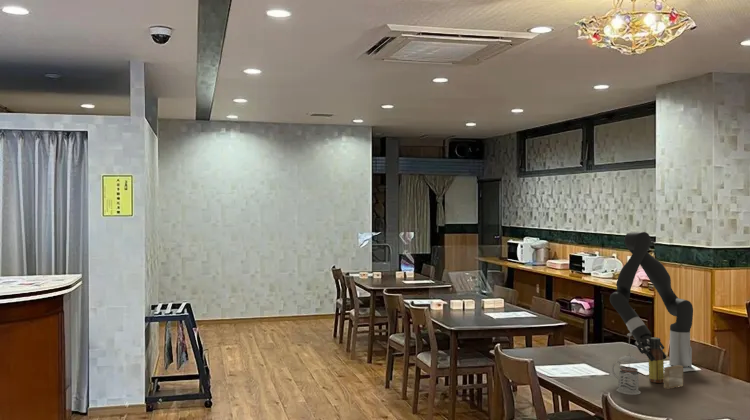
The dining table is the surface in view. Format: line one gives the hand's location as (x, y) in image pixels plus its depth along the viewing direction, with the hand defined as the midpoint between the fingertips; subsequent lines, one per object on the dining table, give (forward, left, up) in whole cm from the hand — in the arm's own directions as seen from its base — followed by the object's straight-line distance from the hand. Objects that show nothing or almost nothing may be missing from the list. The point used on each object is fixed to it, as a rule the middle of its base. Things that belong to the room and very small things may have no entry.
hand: (659, 359), depth 290 cm
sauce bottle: (+1, -1, -11) cm, 11 cm away
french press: (+21, +13, -11) cm, 26 cm away
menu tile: (-3, +7, -11) cm, 13 cm away
